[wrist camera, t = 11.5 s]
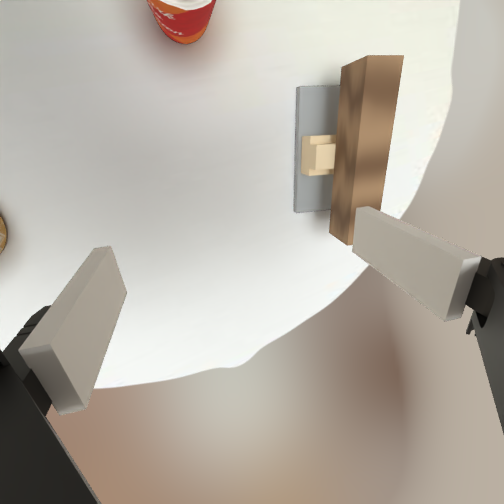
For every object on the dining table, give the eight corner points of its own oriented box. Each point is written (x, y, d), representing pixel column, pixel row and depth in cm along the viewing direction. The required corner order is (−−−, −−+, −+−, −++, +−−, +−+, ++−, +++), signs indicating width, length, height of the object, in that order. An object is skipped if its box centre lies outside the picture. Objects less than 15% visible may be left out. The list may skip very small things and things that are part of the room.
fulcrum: (296, 87, 36) (316, 79, 30) (364, 86, 38) (394, 78, 32) (293, 211, 43) (309, 222, 37) (350, 205, 45) (373, 215, 39)
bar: (341, 67, 31) (367, 55, 26) (373, 67, 31) (403, 55, 27) (329, 232, 39) (347, 245, 34) (354, 229, 39) (375, 241, 35)
